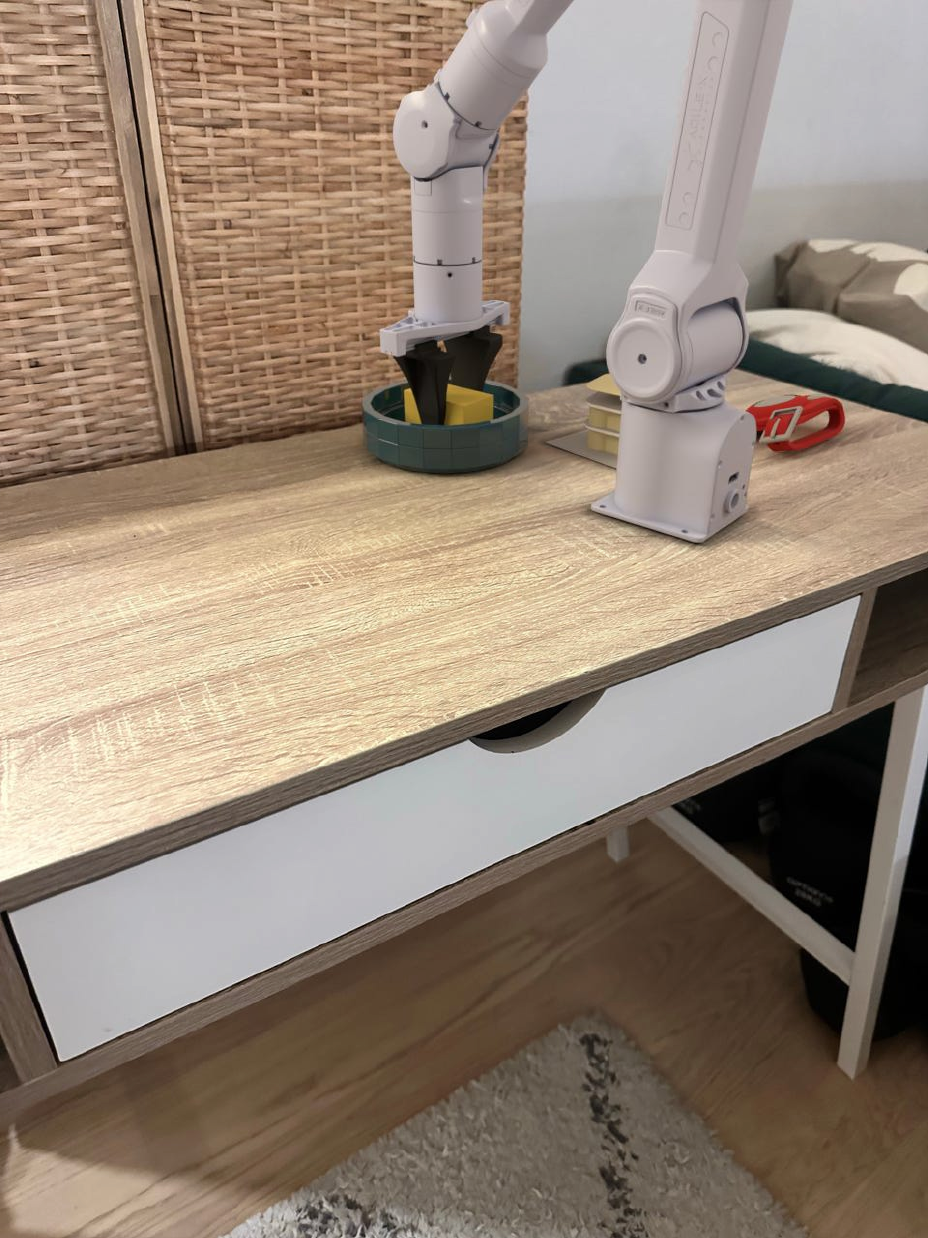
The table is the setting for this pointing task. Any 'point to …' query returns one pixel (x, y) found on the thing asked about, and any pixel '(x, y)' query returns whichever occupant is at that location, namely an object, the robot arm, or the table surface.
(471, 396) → the sponge
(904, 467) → the table surface
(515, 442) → the bowl
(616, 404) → the stacked layers on plate
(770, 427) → the red buckle strap
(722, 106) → the robot arm
